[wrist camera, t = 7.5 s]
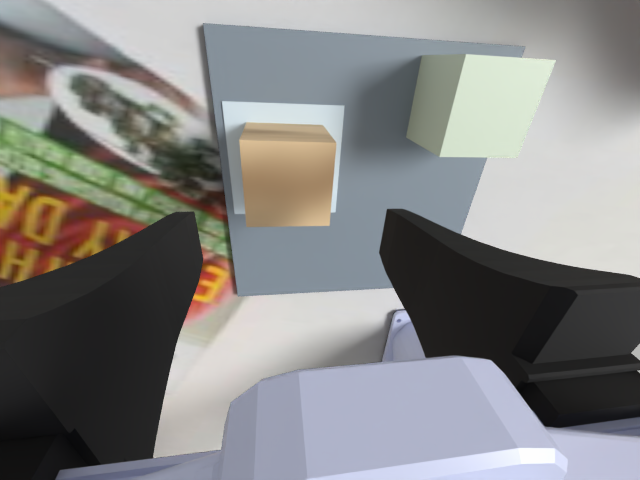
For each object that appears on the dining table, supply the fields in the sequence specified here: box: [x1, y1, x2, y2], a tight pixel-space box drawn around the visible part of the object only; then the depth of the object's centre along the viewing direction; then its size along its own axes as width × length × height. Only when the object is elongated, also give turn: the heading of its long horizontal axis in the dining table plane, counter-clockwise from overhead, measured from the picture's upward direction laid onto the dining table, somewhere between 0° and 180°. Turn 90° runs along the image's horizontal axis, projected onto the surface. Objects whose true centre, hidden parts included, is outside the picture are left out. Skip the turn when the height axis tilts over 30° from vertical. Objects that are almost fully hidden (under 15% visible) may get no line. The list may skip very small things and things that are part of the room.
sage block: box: [406, 54, 556, 158], centre depth 16 cm, size 4×4×4 cm
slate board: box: [203, 23, 525, 296], centre depth 21 cm, size 18×18×1 cm
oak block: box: [239, 122, 336, 227], centre depth 17 cm, size 4×4×4 cm
